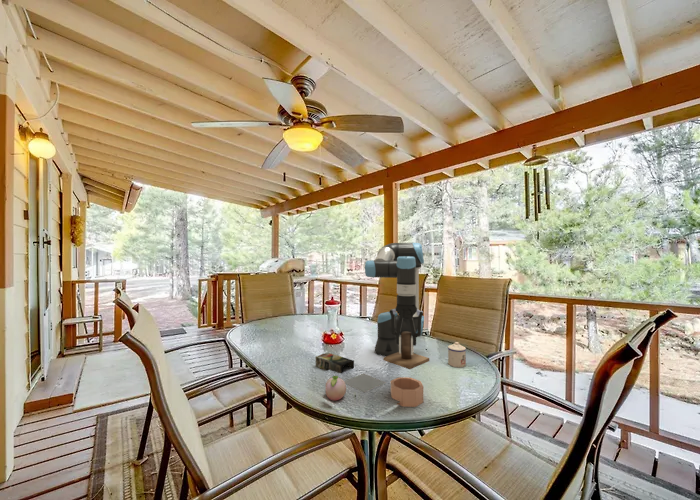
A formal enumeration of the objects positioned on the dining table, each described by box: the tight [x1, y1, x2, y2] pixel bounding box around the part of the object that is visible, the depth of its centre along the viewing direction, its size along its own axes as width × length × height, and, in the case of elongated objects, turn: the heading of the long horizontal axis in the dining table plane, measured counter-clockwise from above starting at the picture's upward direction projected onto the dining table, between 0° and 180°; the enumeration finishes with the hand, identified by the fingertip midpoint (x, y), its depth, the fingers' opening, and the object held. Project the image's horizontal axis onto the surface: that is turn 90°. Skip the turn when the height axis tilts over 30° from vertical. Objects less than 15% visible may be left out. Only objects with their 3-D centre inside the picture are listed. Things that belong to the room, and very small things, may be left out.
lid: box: [382, 331, 430, 370], centre depth 121 cm, size 13×13×11 cm
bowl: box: [390, 376, 424, 408], centre depth 121 cm, size 12×12×6 cm
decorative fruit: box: [325, 375, 347, 401], centre depth 120 cm, size 9×8×10 cm
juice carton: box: [315, 352, 355, 374], centre depth 153 cm, size 20×10×6 cm, turn 48°
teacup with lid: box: [447, 341, 467, 368], centre depth 160 cm, size 12×9×12 cm
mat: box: [343, 373, 387, 393], centre depth 133 cm, size 14×14×2 cm
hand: (406, 352), depth 121 cm, fingers closed on lid, 4 cm apart
